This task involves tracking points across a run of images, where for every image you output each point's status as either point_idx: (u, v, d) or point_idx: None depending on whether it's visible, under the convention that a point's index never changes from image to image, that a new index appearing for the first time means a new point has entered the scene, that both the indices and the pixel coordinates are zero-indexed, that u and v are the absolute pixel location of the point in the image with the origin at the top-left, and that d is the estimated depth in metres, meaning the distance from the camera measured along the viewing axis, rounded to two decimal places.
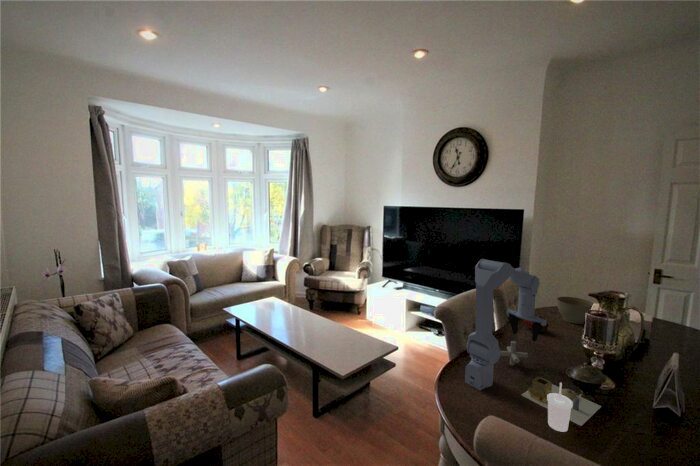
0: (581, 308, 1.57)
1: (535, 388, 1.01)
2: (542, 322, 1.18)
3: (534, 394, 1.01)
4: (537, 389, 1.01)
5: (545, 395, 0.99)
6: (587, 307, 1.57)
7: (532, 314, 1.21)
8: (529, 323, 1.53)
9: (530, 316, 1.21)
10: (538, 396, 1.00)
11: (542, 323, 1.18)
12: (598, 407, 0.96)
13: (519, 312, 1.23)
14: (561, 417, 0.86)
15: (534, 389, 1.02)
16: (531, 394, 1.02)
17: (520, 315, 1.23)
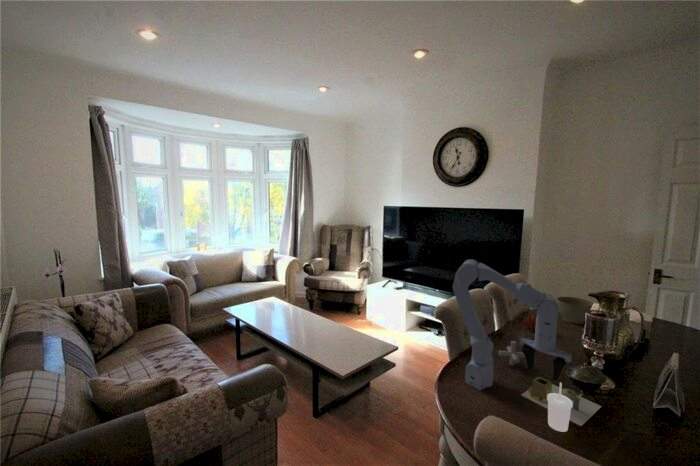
0: (581, 308, 1.57)
1: (535, 388, 1.01)
2: (566, 358, 0.94)
3: (534, 394, 1.01)
4: (537, 389, 1.01)
5: (545, 395, 0.99)
6: (587, 307, 1.57)
7: (553, 347, 0.97)
8: (529, 323, 1.53)
9: (551, 349, 0.97)
10: (538, 396, 1.00)
11: (566, 359, 0.94)
12: (598, 407, 0.96)
13: (536, 343, 1.00)
14: (561, 417, 0.86)
15: (534, 389, 1.02)
16: (531, 394, 1.02)
17: (538, 347, 0.99)
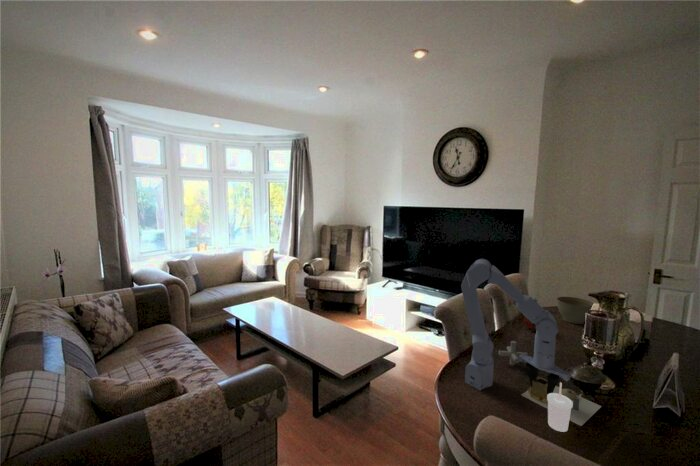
0: (581, 308, 1.57)
1: (535, 388, 1.01)
2: (565, 376, 0.95)
3: (534, 394, 1.01)
4: (537, 389, 1.01)
5: (545, 395, 0.99)
6: (587, 307, 1.57)
7: (552, 365, 0.98)
8: (529, 323, 1.53)
9: (549, 367, 0.98)
10: (538, 396, 1.00)
11: (565, 378, 0.95)
12: (598, 407, 0.96)
13: (535, 361, 1.00)
14: (561, 417, 0.86)
15: (534, 389, 1.02)
16: (531, 394, 1.02)
17: (537, 365, 1.00)
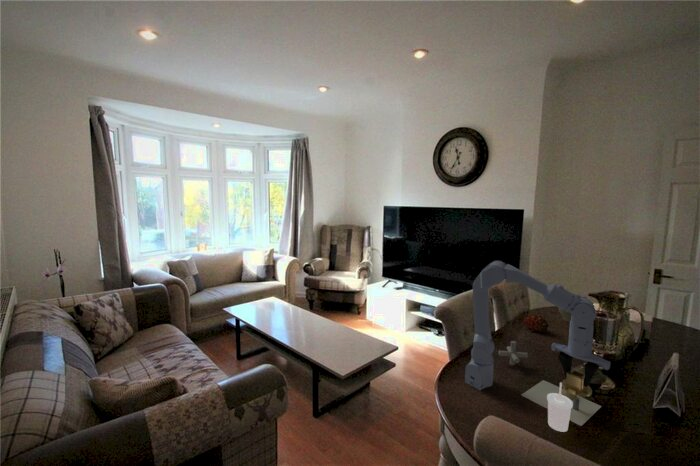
0: None
1: (570, 381, 0.94)
2: (605, 365, 0.88)
3: (569, 388, 0.94)
4: (573, 382, 0.94)
5: (581, 388, 0.92)
6: None
7: (589, 353, 0.91)
8: (529, 323, 1.53)
9: (587, 355, 0.91)
10: (574, 390, 0.93)
11: (605, 366, 0.88)
12: (598, 407, 0.96)
13: (571, 349, 0.93)
14: (561, 417, 0.86)
15: (569, 382, 0.95)
16: (565, 388, 0.95)
17: (572, 353, 0.93)
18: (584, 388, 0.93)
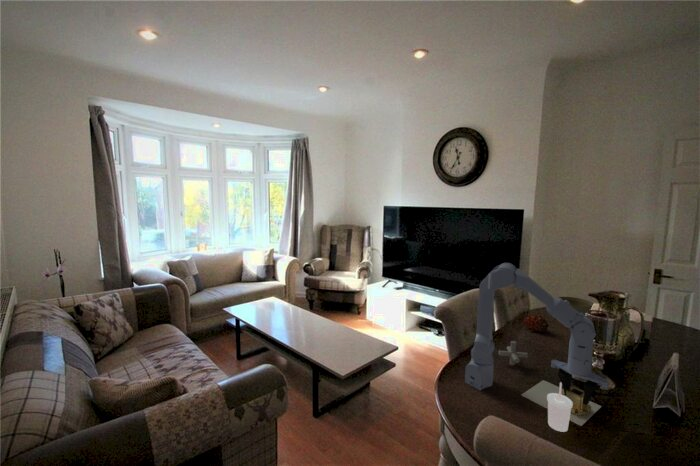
0: (581, 308, 1.57)
1: None
2: (604, 384, 0.88)
3: None
4: (572, 400, 0.94)
5: (581, 407, 0.93)
6: (587, 307, 1.57)
7: (589, 371, 0.92)
8: (529, 323, 1.53)
9: (586, 374, 0.91)
10: (573, 408, 0.93)
11: (604, 385, 0.88)
12: (598, 407, 0.96)
13: (570, 367, 0.94)
14: (561, 417, 0.86)
15: None
16: None
17: (572, 371, 0.93)
18: (583, 406, 0.93)
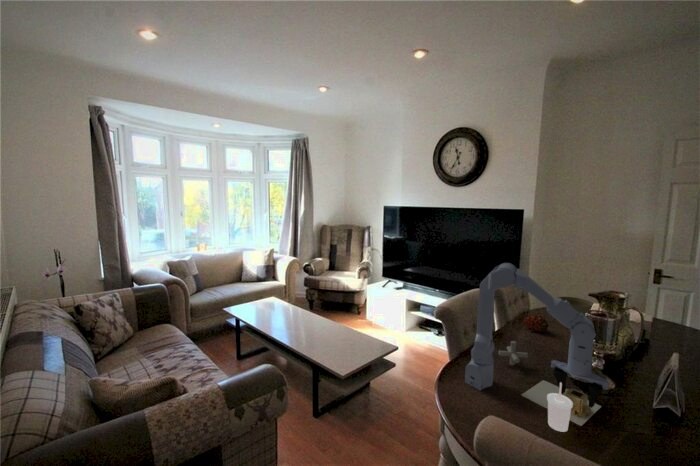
0: (581, 308, 1.57)
1: None
2: (604, 384, 0.88)
3: None
4: None
5: (581, 408, 0.93)
6: (587, 307, 1.57)
7: (589, 372, 0.92)
8: (529, 323, 1.53)
9: (586, 374, 0.91)
10: (573, 409, 0.93)
11: (604, 386, 0.88)
12: (598, 407, 0.96)
13: (570, 368, 0.94)
14: (561, 417, 0.86)
15: None
16: None
17: (572, 372, 0.93)
18: (583, 408, 0.93)
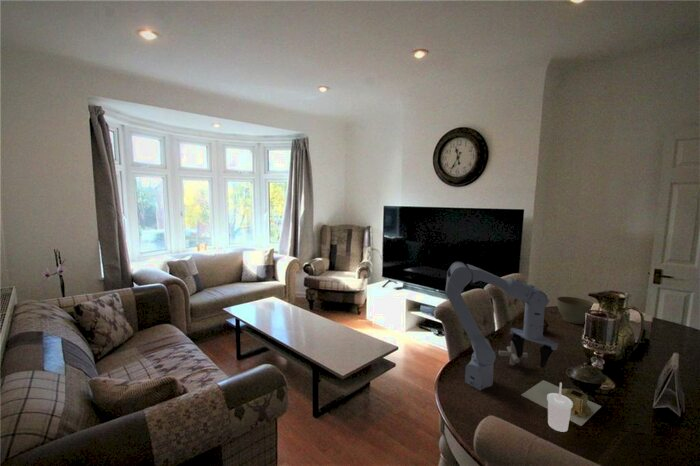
0: (581, 308, 1.57)
1: None
2: (552, 346, 0.99)
3: None
4: None
5: (581, 408, 0.93)
6: (587, 307, 1.57)
7: (540, 335, 1.03)
8: None
9: (538, 338, 1.03)
10: (573, 409, 0.93)
11: (552, 347, 0.99)
12: (598, 407, 0.96)
13: (525, 333, 1.05)
14: (561, 417, 0.86)
15: None
16: None
17: (526, 336, 1.04)
18: (583, 408, 0.93)
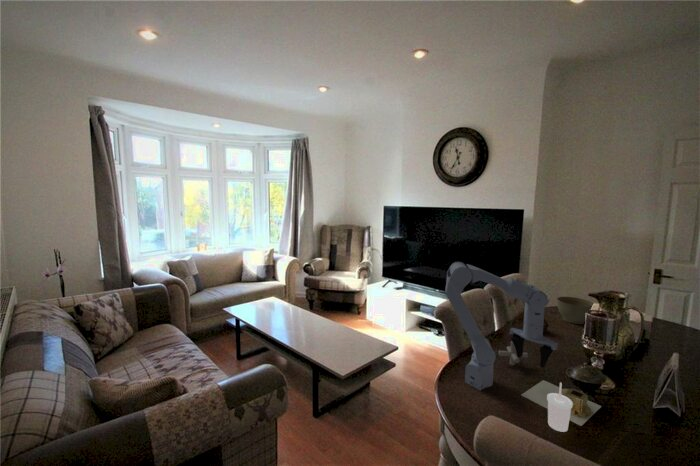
0: (581, 308, 1.57)
1: None
2: (552, 345, 0.99)
3: None
4: None
5: (581, 408, 0.93)
6: (587, 307, 1.57)
7: (540, 335, 1.03)
8: None
9: (538, 338, 1.03)
10: (573, 409, 0.93)
11: (552, 347, 0.99)
12: (598, 407, 0.96)
13: (525, 332, 1.05)
14: (561, 417, 0.86)
15: None
16: None
17: (526, 336, 1.04)
18: (583, 408, 0.93)
